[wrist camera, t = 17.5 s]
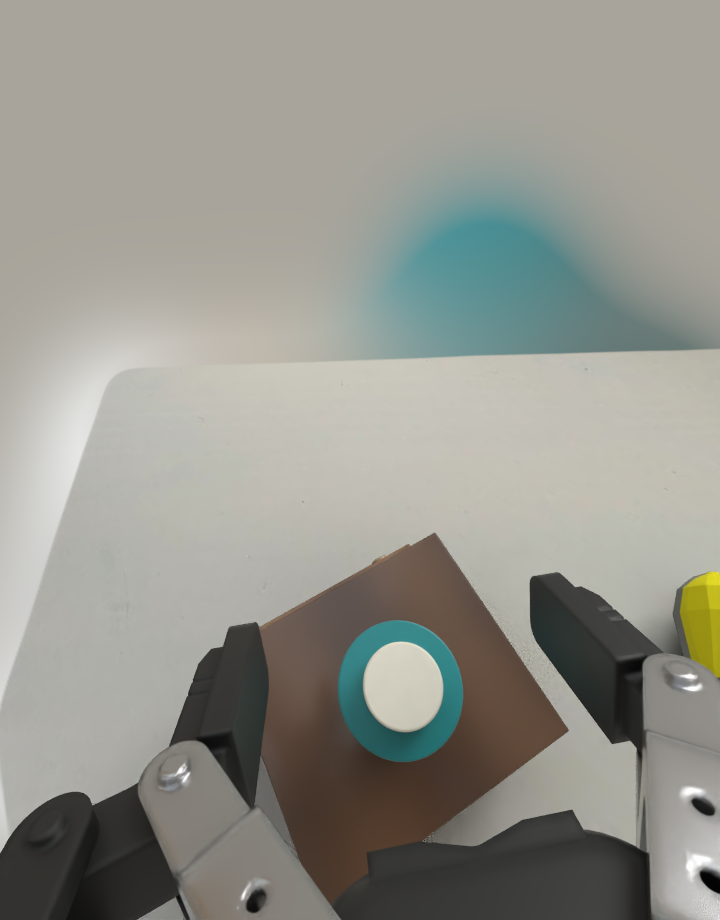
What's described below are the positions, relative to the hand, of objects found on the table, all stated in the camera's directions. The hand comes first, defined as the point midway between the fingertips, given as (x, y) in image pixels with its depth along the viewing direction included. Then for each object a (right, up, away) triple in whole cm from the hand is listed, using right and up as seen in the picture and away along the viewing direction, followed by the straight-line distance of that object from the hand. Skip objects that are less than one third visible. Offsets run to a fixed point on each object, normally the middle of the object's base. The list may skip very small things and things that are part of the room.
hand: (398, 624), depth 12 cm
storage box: (0, -12, +18) cm, 22 cm away
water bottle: (0, -7, +10) cm, 13 cm away
